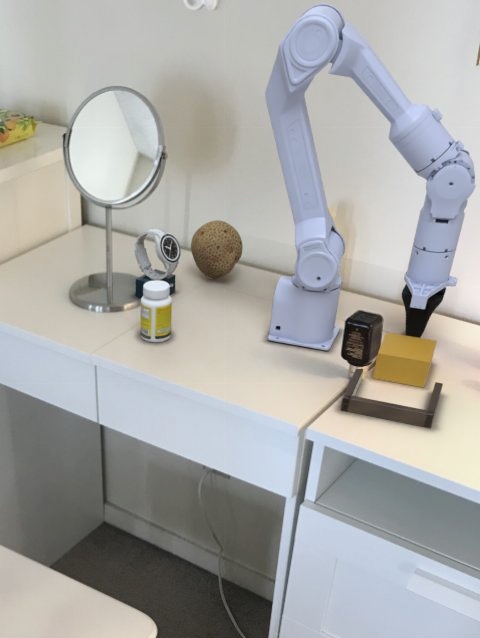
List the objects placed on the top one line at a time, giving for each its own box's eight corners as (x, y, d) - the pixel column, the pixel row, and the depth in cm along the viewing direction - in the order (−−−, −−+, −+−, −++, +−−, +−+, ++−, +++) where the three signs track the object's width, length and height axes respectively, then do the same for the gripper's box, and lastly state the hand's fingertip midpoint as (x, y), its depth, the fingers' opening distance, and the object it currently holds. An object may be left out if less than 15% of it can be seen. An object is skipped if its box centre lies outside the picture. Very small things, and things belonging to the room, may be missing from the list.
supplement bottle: (173, 331, 129) (175, 280, 124) (167, 344, 126) (169, 292, 121) (144, 328, 130) (144, 277, 125) (137, 341, 127) (137, 290, 122)
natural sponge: (208, 263, 151) (212, 209, 145) (249, 275, 146) (255, 219, 140) (179, 279, 146) (182, 223, 140) (221, 291, 141) (226, 234, 135)
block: (372, 378, 116) (377, 352, 114) (381, 357, 121) (386, 332, 119) (423, 387, 114) (430, 362, 111) (430, 365, 119) (437, 340, 116)
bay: (340, 410, 109) (342, 397, 108) (354, 379, 116) (356, 367, 115) (430, 428, 105) (434, 415, 104) (439, 396, 112) (443, 383, 111)
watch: (164, 305, 137) (166, 241, 130) (127, 293, 141) (127, 230, 134) (184, 295, 140) (187, 231, 133) (147, 283, 144) (148, 221, 138)
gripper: (459, 268, 107) (435, 361, 115) (470, 231, 117) (447, 320, 125) (403, 260, 109) (384, 352, 117) (419, 225, 119) (400, 312, 128)
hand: (413, 335), depth 121 cm, fingers closed
